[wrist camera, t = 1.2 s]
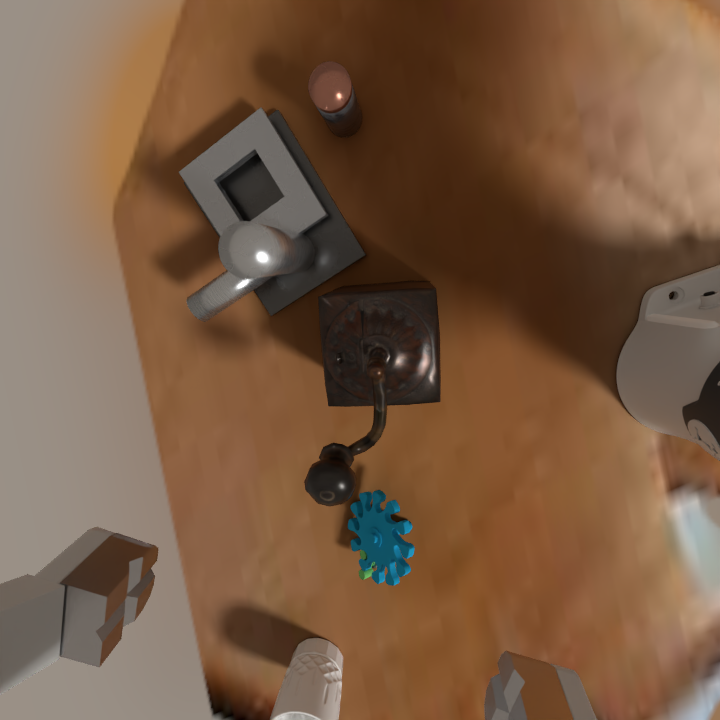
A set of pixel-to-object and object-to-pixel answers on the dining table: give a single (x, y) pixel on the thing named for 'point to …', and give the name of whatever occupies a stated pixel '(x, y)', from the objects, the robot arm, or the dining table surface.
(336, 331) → the dark brown coffee grinder
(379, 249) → the dining table surface
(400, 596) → the dining table surface
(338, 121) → the pin
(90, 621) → the robot arm
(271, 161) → the pipe elbow on plate
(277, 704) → the white cup
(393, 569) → the gear
